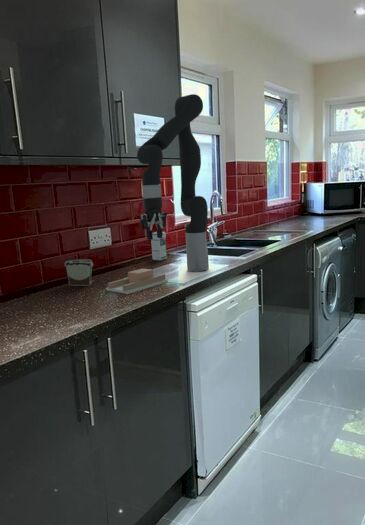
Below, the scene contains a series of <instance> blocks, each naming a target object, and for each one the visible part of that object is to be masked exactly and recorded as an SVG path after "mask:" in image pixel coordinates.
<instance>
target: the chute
mask: <svg viewBox="0 0 365 525" xmlns="http://www.w3.org/2000/svg"><path fill="white" fill-rule="evenodd" d="M168 280H169V279H166V274H165V273H162V274H161V273H160V274H158V275H155V276H154V275H153V277H150V278H147V279H143V280H140V281H136V282H133V283H129V282H128V277H125V278H121V279H117V280H115V281H111V282H107V287H106V289H105V290H106V291H109V292H114V293H120V294H126V295H129V294H133V293H137V292H139V291H143V290H146V289H149V288H152V287H157V286H159V285H162V284H166V283H168Z"/></svg>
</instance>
